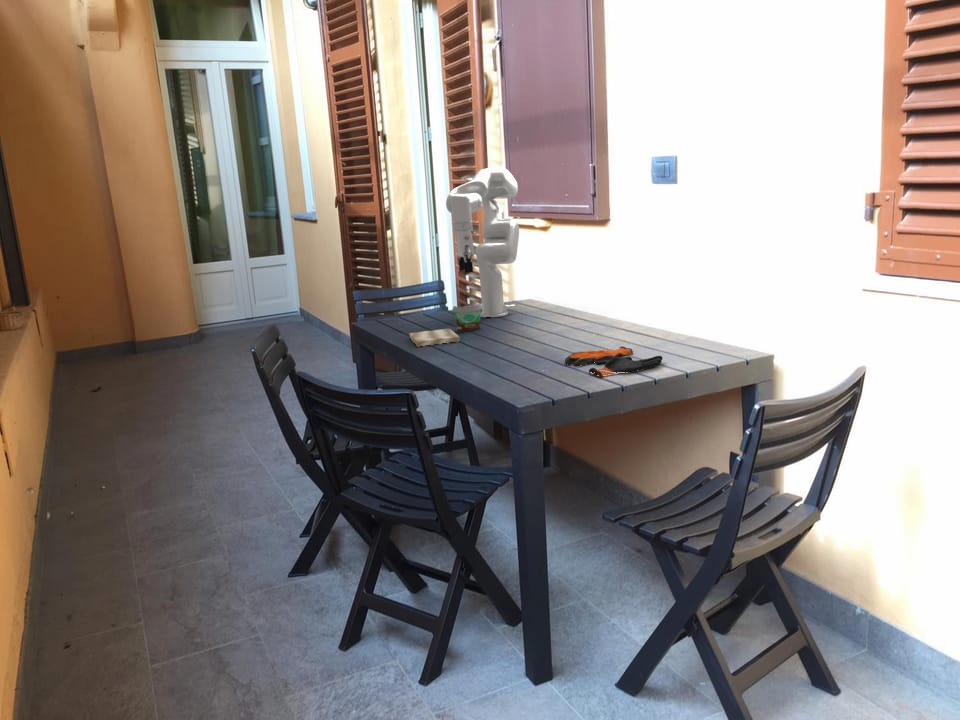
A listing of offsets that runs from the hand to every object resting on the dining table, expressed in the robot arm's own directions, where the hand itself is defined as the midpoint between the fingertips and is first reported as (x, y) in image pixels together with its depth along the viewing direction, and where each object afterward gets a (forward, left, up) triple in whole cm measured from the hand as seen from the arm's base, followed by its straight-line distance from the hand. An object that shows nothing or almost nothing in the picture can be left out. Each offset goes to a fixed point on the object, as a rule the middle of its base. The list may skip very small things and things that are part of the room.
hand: (466, 271), depth 308 cm
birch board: (+17, +11, -24) cm, 31 cm away
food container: (0, 0, -24) cm, 24 cm away
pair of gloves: (-27, +79, -24) cm, 87 cm away
